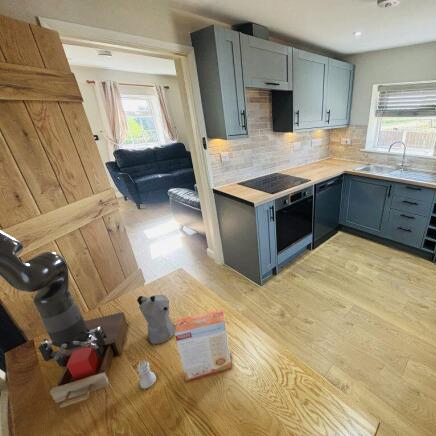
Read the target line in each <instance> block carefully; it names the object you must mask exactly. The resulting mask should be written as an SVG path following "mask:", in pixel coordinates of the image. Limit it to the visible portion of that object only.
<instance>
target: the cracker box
mask: <svg viewBox="0 0 436 436" xmlns="http://www.w3.org/2000/svg"><path fill="white" fill-rule="evenodd" d="M227 330H228V329H227V322H226V316H225V309H224V308H220V309H217V310H213V311H208V312H204V313H199V314H194V315H190V316H184V317H180V318H176V322H175V331H174V336H175V341H176V345H177V349H178V353H179V358H180V361H181V366H182V369H183V373H184V378H185V380H186V381H187V382H188V381H191V380H194V379H197V378H202V377H204V376H208V375H211V374H214V373H218V372H221V371H225V370H228V369H231V368H232V363H231V353H230V345H229V338H228V331H227Z"/></svg>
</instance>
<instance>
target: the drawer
mask: <svg viewBox="0 0 436 436" xmlns="http://www.w3.org/2000/svg"><path fill="white" fill-rule="evenodd" d="M103 349H104V350H103V353H102V355H101V357H98V358H99V360H100V362H101V363H100V366H99V369H98V372H97V375H94V376H91V377H88V378H84V379H81V380H78V381H75V380H74V379H73V377H72V375H71V373H70V371H69V369H68V367H67V366H66V367H64V368H63V370H62V372H61V374H60V377H59V379H58V381H57V386H56V387H53V388H51V389H50V391H49V394H50V396H51V397H52V399H53V400H54V403H56V404H58V403H60V405H59V407H60V409H64V408H67V407H70V406H73V405H75V404H79V403H82V402H85V401H88V400H89V399H90V397H91V394H90V393H91V392H95V391H97V390H100V389H103V388H106V387H109V385H110V381H109V374H110V372H111V371H110V370H111V367H112V364H113V359H114V358H115V357H114V353H115V350H114V348H113V345H109V346H105V347H103ZM70 357H71V356H70ZM70 357H69V359H70ZM69 359H68V361H69ZM67 364H68V363H67Z"/></svg>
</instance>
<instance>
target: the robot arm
mask: <svg viewBox="0 0 436 436" xmlns="http://www.w3.org/2000/svg"><path fill="white" fill-rule="evenodd" d="M24 249H25V245H24V243H22V242H21V241H20V240H18V239H17V238H14V236H11V235H9V234H7V233H6V232H4V231H2V230H0V278H1V279H3V281H5V283H6V284H8V285H9V286H10V287H11V288H13V289H15V290H17V291H20V292H25V293H35V292H36V293H35V294H34V296H33V297H32V304H33V306H34V309H36V312H37V314H38V315H39V317H40V318H39V319H40V321H41V324H42V326H43V328H44V329H45V332H46V333H47V335H48V337H49V338H50V340H49V338H44V339H42V341H41V343H40V344H39V346H38V350H39V352H40V355H41V356H42V358H43V360H44V361H45V362H50V361H51V360H52V361H55V362H56V363H57V365H58V366H59V367H60V368H63V369H64V368H65V367H66V366H67V363H68V359H67V357H66V355H65V354H64V353H65V351H66V350H71V349H73V348H78V347H82V346H83V347H86V348H88V347H91V348H93V349H94V351H95V353H96V356H97V357H101V355H102V353H103V350H104V349H103V347H102V346H103V345H105V343H106V340H107V336H106V334H105V332H104V330H103V328H102V326H101V325H98V326H97V327H96V328H95V329H92V330H90V329H88V328H87V326H86V323H85V321H86V320H85V318H84V316H83V314H82V312H81V310H80V308H79V306H78V304H77V303H76V302H75V299H74V297H73V295H72V293H71V290H70V276H69V275H70V274H69V267H68V263H67V262H66V260H65V258H64V257H62V256H61V255H60V254H58V253H56V252H54V251H44V252H41V253H39V254H36V255H34V256H33V257H32V258H30V259H28V260H27V261H25V262H24V261H22V260H21V259H20V258H19V256H20V255H21V254H22V252H23V251H24ZM90 334H92V335H90ZM93 335H94V336H93ZM95 337H96V338H95ZM87 339H88V342H86V340H87ZM94 343H95V344H94ZM53 346H54V347H56V348H57V351H54V349H53Z"/></svg>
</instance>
